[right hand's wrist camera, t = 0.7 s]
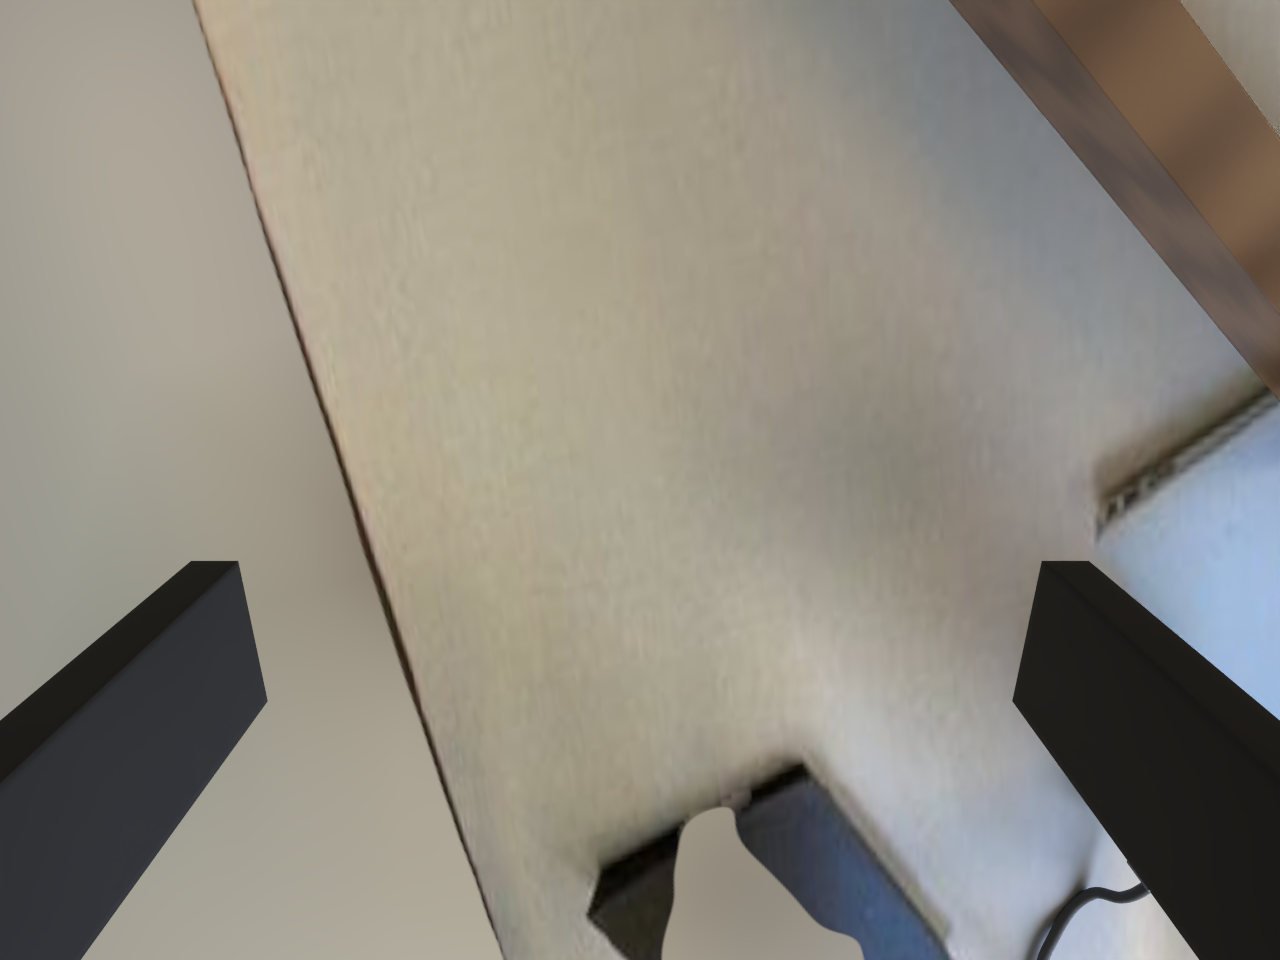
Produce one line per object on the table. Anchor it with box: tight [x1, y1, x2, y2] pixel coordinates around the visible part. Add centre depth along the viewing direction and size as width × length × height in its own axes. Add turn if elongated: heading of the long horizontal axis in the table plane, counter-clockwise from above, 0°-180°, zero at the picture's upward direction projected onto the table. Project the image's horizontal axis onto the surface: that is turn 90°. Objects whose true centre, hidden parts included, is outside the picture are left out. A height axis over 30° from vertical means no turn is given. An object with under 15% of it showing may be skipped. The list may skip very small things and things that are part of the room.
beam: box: [949, 0, 1280, 401], centre depth 44 cm, size 53×5×7 cm, turn 48°
